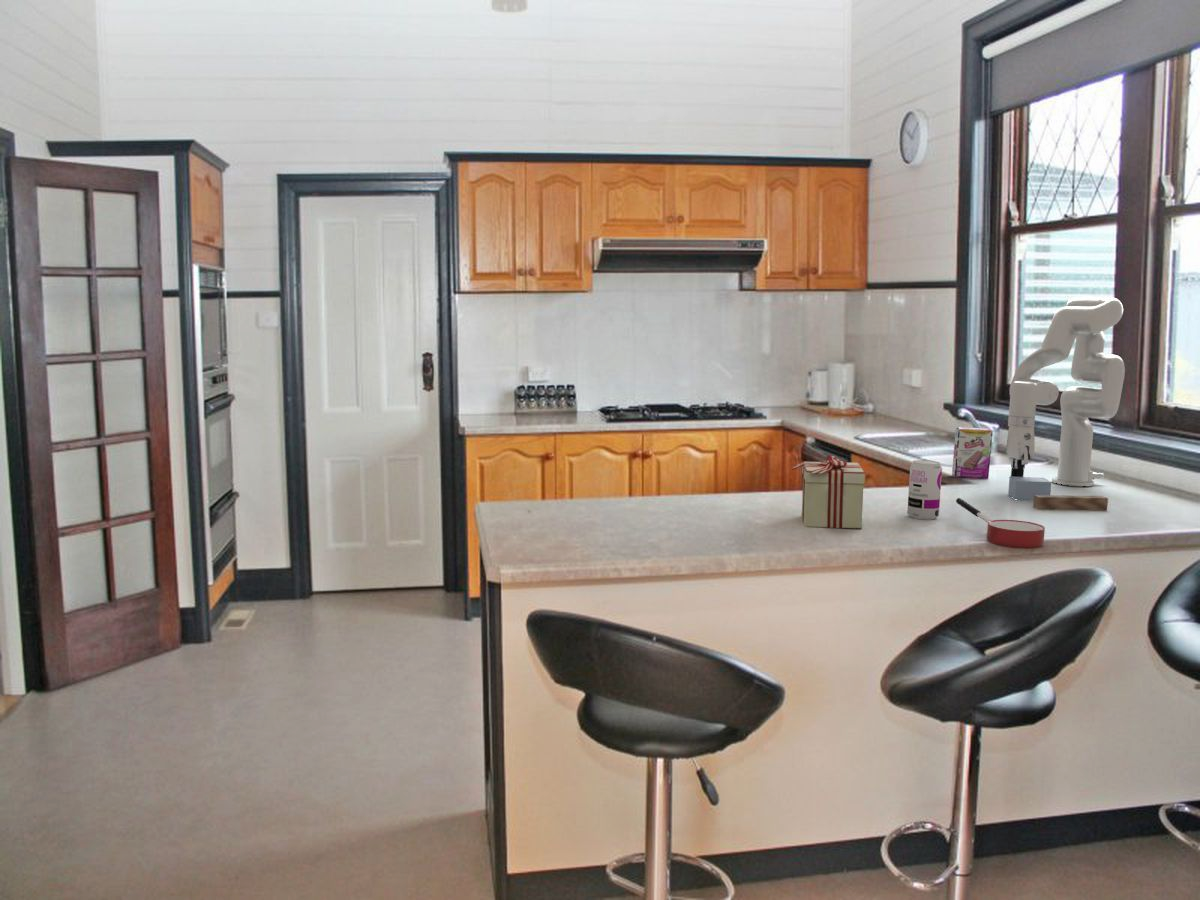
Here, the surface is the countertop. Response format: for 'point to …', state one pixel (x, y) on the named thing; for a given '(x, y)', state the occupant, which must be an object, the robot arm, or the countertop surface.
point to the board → (1070, 502)
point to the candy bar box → (972, 453)
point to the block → (1028, 487)
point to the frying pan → (1010, 530)
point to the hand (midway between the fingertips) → (1016, 481)
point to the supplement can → (924, 489)
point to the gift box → (832, 494)
